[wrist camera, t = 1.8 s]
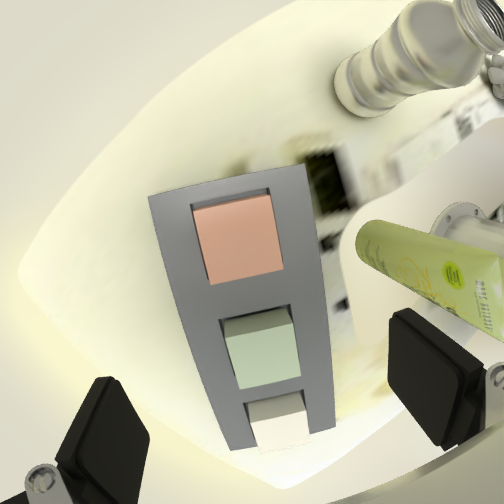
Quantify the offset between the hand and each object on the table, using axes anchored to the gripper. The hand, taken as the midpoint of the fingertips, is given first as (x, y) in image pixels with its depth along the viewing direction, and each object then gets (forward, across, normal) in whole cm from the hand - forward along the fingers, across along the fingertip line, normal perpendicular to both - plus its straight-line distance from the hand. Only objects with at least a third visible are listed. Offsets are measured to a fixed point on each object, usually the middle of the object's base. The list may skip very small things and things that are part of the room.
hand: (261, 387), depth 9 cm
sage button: (+19, 0, +9) cm, 21 cm away
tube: (+21, -15, +2) cm, 26 cm away
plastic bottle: (+21, -16, -14) cm, 29 cm away
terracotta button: (+19, -1, -2) cm, 19 cm away
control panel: (+21, 0, +9) cm, 23 cm away
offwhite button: (+19, 0, +20) cm, 28 cm away
